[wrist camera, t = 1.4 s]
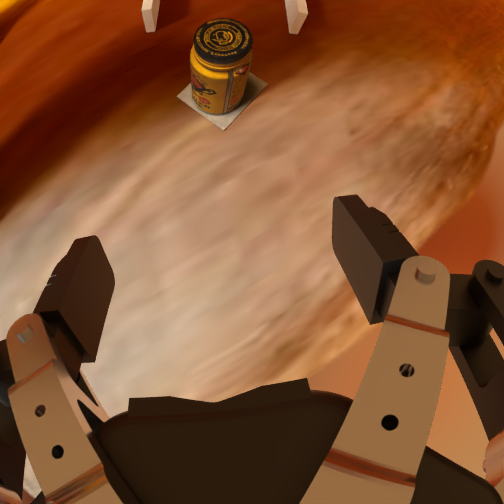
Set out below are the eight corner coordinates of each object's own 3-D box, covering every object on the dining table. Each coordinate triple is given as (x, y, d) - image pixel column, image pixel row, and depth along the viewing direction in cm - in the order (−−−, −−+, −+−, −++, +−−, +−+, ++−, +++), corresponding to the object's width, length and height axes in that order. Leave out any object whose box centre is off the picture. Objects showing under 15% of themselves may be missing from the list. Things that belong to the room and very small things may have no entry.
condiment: (176, 97, 34) (167, 40, 22) (222, 54, 35) (231, -8, 23) (223, 131, 35) (233, 82, 23) (267, 85, 36) (292, 29, 24)
